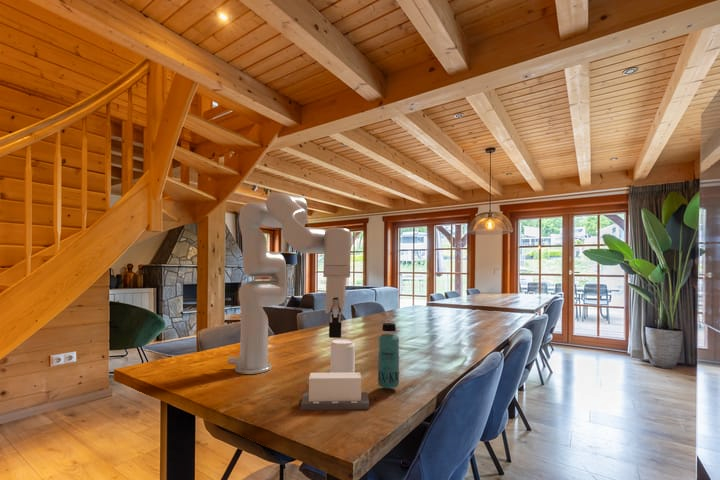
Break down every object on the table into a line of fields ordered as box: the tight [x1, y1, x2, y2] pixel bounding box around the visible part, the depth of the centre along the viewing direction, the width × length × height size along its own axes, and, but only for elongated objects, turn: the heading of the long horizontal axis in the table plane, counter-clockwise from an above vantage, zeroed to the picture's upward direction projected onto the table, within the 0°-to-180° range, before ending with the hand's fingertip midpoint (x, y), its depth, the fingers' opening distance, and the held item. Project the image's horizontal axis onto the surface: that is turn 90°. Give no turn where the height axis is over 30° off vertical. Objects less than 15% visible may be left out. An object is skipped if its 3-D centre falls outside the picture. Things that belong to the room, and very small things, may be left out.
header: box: [300, 391, 370, 411], centre depth 97 cm, size 18×8×6 cm, turn 93°
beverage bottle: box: [377, 322, 400, 389], centre depth 108 cm, size 6×7×20 cm
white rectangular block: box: [308, 371, 362, 402], centre depth 97 cm, size 14×5×6 cm, turn 93°
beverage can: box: [330, 338, 356, 373], centre depth 119 cm, size 8×8×12 cm
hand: (335, 333), depth 98 cm, fingers open, 9 cm apart
